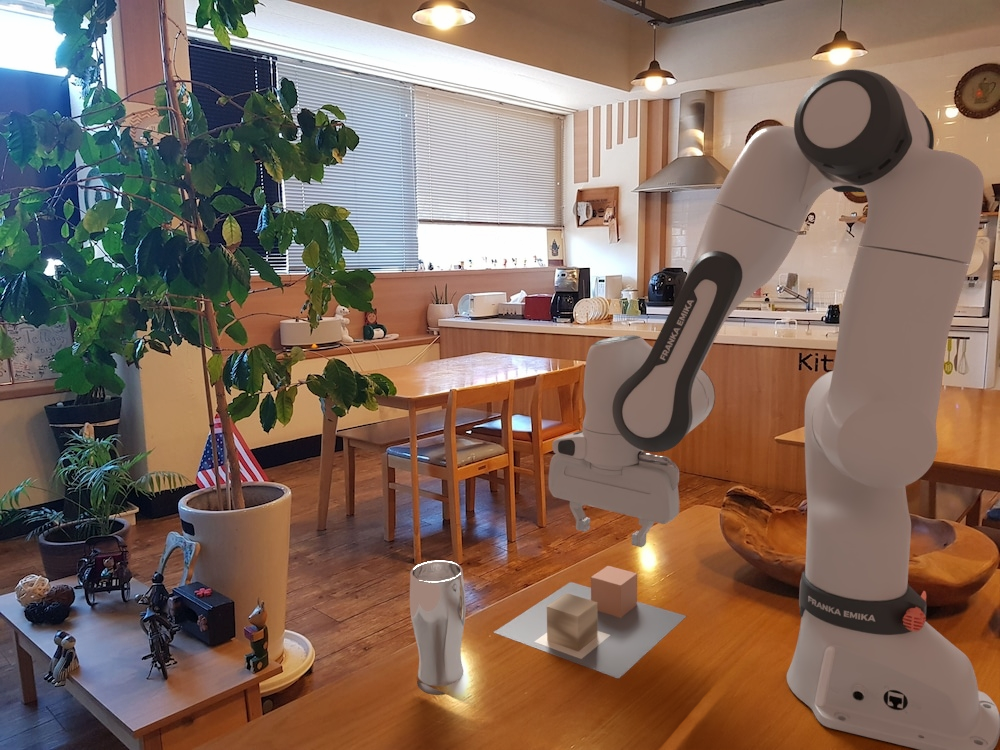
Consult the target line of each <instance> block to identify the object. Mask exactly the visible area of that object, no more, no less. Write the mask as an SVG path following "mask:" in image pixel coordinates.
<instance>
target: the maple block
mask: <svg viewBox="0 0 1000 750" xmlns="http://www.w3.org/2000/svg"><path fill="white" fill-rule="evenodd" d="M597 636H598V619H597V602H595V601H591V600H588V599H585V598H582V597H578V596H575V595H572V594H568V593H566V594H565V595H563V596H562V597H560V598H559V599H557V600H556V601H554V602H553V603H551V604H550V605H548V606H547V641H550V642H553V643H555V644H558V645H561V646H564V647H567V648H569V649H572V650H575V651H580V650H581V649H582V648H583V647H585V646H586V645H587V644H588V643H590V642H591V641H592V640H594V639H595V638H596V637H597Z"/></svg>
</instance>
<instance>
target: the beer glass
mask: <svg viewBox="0 0 1000 750" xmlns="http://www.w3.org/2000/svg"><path fill="white" fill-rule="evenodd" d="M409 575H410V579H409V609H410V617H411V618H410V619H411V624H412V630H413V633H414V637H415V641H416V645H417V651H418V657H419V659H418V660H419V661H418V662H419V663H418V671H417V678H418V680H416V684H417V687H418V688H419V690H421V691H422V692H423V693H425V694H429V695H432V696H445V695H446V693H445V692H443V691H441V690H438V689H436V688H434V687H444V686H449V685H452V684H455V683H456V682H458V681H459V680H460V679H461V678H462V677H463V676H464V667H463V664H462V663H463V662H462V654H461V651H462V643H463V642H462V640H463V634H464V628H465V621H466V620H465V619H466V611H467V610H466V590H465V581H464V572H463V568H462V566H461V565H460V564H458V563H456V562H453V561H449V560H431V561H427V562H422V563H420V564H417V565H416V566H414V567H413V568H411V570H410V573H409ZM431 686H432V687H431Z"/></svg>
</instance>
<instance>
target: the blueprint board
mask: <svg viewBox="0 0 1000 750" xmlns="http://www.w3.org/2000/svg"><path fill="white" fill-rule="evenodd" d="M566 593H568V594H572V595H575V596H578V597H582V598H585V599H588V600H591V586H590V587H588V586H586V585H583V584H579V583H576V582H572V581H570V582H568V583H567V584H565V585H563V586H562V587H560V588H558V590H555V592H553V593H551V594H549V595H548V596H547V597H545V598H543V600H541V601H539V602H537V603H536V604H535V605H533V606H531V607H530V608H528V609H527V610H526V611H524V612H522V613H521V614H519V615H518V616H516V617H515V618H513V619H511V620H510V621H508V622H507V623H505V624H504V625H502V626H500V627H499V628H498V629H497V630H496V629H495V631H493V633H494V634H497V635H499V636H502V637H503V638H507V639H510V640H513V641H515V642H517V643H521V644H523V645H526V646H528V647H531V648H534V649H536V650H539V651H542V652H544V653H548V654H550V655H552V656H556V657H558V658H561V659H563V660H566V661H569V662H571V663H574V664H577V665H580V666H582V667H586V668H587V669H590V670H593V671H596V672H598V673H601V674H604V675H607V676H610V677H611V678H615V679H618V680H619V679H620V678H622V677H623V676H624V675H625V674H626V673H627V672H628V671H629V670H631V668H632V667H634V665H636V663H638V662H639V661H641V660H642V658H643V657H644V656H646V654H648V653H649V651H651V650H652V649H653V648H654V647H655V646H657V644H658V643H659V642H660V641H662V640H663V639H664V638H665V637H666V636H667V635H668V634H669V633H670V632H672V630H674V629H675V627H677V626H678V625H679V624H680V623H681V622H683V620H685V619H686V618H687V615H684V614H681V613H677V612H674V611H672V610H667V609H664V608H661V607H657V606H654V605H650V604H647V603H643V602H640V601H637V605H636V606H635V607H634V608H633V609H631V610H630V611H629V612H628V613H626V614H625V615H624V616H622V617H621V618H619V617H616V616H613V615H610V614H607V613H603V612H600V611H597V619H598V636H597V637H596V638H595V639H594V640H592V641H591V642H590V643H588V644H587V645H586V646H585V647H583V648H582V649H581V650H580V651H575V650H572V649H569V648H567V647H564V646H561V645H558V644H555V643H553V642H550V641H547V606H548V605H550V604H551V603H553V602H554V601H556V600H557V599H559V598H560V597H562V596H563V595H565V594H566Z"/></svg>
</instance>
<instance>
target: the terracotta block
mask: <svg viewBox="0 0 1000 750" xmlns="http://www.w3.org/2000/svg"><path fill="white" fill-rule="evenodd" d="M590 588H591V601H595V602H597V611H600V612H603V613H607V614H610V615H613V616H616V617H619V618H621V617H622V616H624V615H625V614H626V613H628V612H629V611H630V610H631V609H633V608H634V607H635V606H636V605H637V602H638V573H637V572H633V571H630V570H625V569H622V568H618V567H615V566H611V565H606V566H605V567H604V568H602V569H601V570H599V571H598V572H597V573H594V574H592V576H590Z"/></svg>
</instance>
